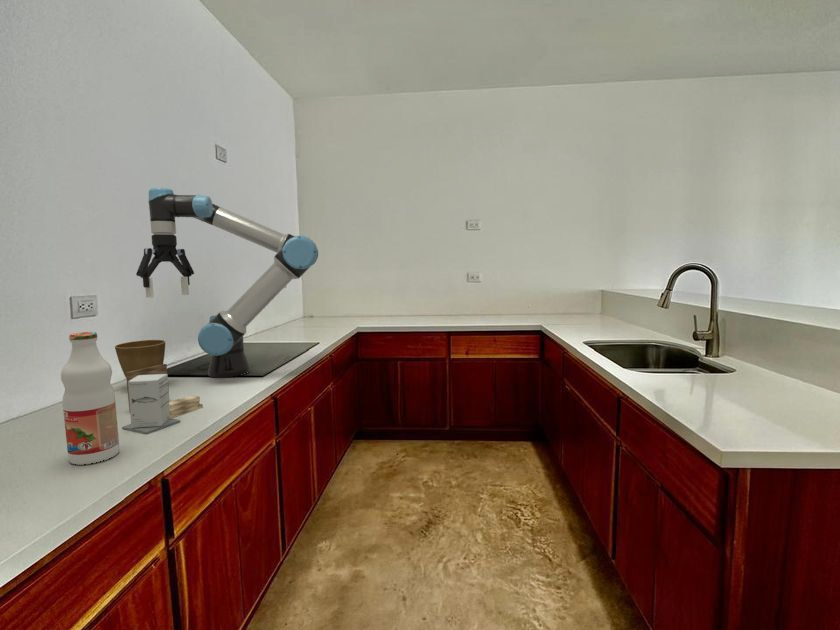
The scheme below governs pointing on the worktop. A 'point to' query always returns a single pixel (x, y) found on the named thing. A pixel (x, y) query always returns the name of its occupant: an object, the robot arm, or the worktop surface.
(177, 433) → the worktop surface
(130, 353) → the plant pot
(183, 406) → the pine offcuts
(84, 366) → the fruit juice
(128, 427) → the slate mat
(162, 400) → the supplement box
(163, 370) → the walnut rack
